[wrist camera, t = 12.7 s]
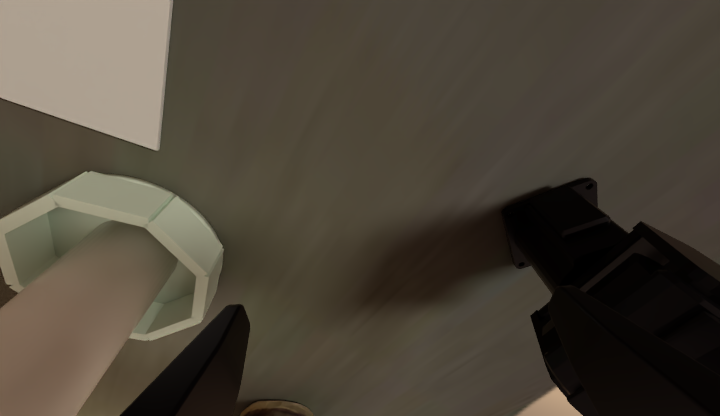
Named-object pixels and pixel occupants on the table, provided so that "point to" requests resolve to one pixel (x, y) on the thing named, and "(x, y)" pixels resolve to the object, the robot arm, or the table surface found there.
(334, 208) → the table surface
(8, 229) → the bowl
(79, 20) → the mat
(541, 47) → the table surface
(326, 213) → the table surface
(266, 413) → the ceramic jug
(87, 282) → the white cylinder
